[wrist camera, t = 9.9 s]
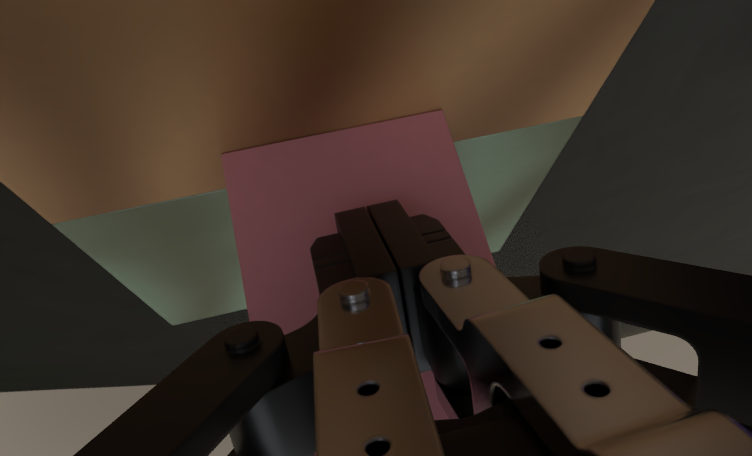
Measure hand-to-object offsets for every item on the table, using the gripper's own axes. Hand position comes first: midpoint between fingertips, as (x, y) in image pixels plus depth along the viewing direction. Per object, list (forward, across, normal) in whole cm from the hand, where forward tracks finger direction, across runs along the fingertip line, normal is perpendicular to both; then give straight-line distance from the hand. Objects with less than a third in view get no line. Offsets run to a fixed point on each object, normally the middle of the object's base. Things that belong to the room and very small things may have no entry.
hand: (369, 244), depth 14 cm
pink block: (+5, 0, 0) cm, 5 cm away
